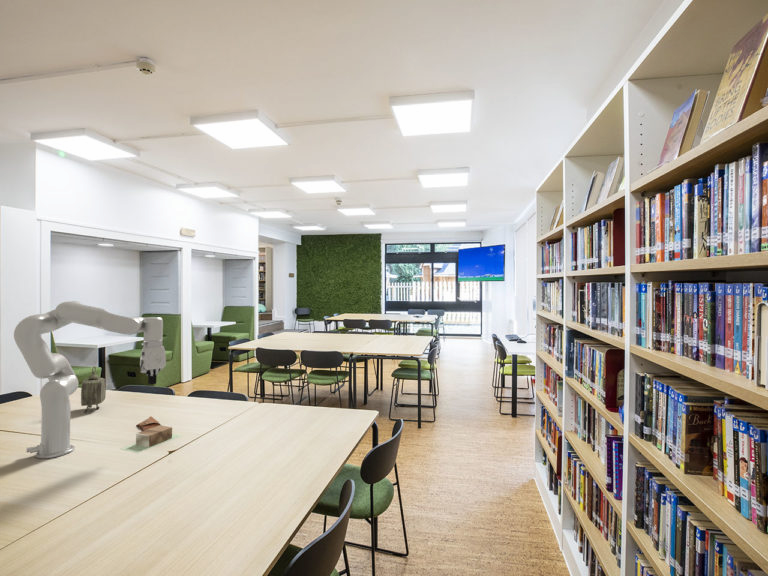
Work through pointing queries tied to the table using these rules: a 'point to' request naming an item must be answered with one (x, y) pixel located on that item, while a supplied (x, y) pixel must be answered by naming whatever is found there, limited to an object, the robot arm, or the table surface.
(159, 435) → the walnut block
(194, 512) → the table surface
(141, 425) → the sunglasses case
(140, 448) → the felt mat
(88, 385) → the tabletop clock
